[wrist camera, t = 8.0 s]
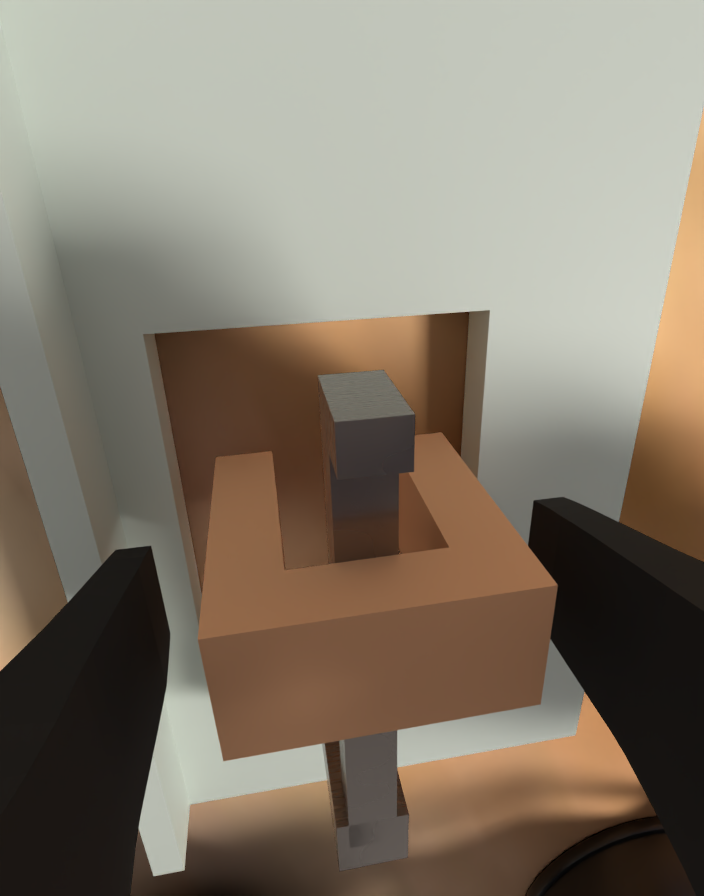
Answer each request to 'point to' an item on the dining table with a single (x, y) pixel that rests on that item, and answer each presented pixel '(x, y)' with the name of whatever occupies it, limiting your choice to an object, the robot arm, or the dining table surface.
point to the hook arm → (355, 538)
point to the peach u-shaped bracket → (368, 614)
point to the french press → (617, 865)
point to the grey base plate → (331, 266)
